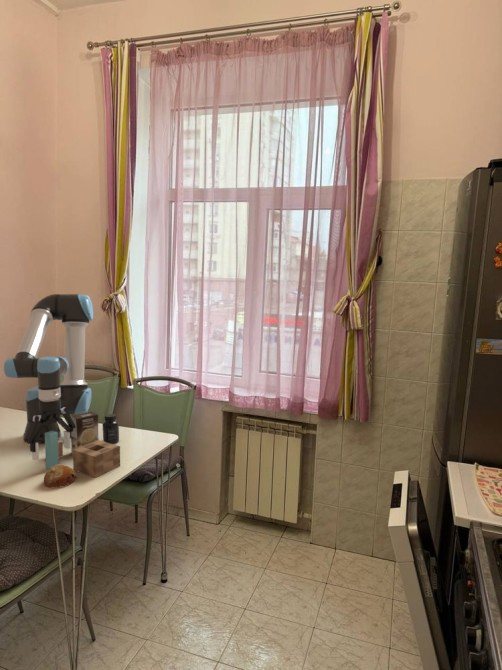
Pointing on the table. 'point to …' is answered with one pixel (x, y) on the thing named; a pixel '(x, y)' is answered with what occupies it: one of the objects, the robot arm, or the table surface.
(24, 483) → the table surface
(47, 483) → the bread roll
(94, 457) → the hole block
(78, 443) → the coffee box
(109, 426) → the supplement bottle
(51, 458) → the long peg
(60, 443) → the short peg
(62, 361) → the robot arm
